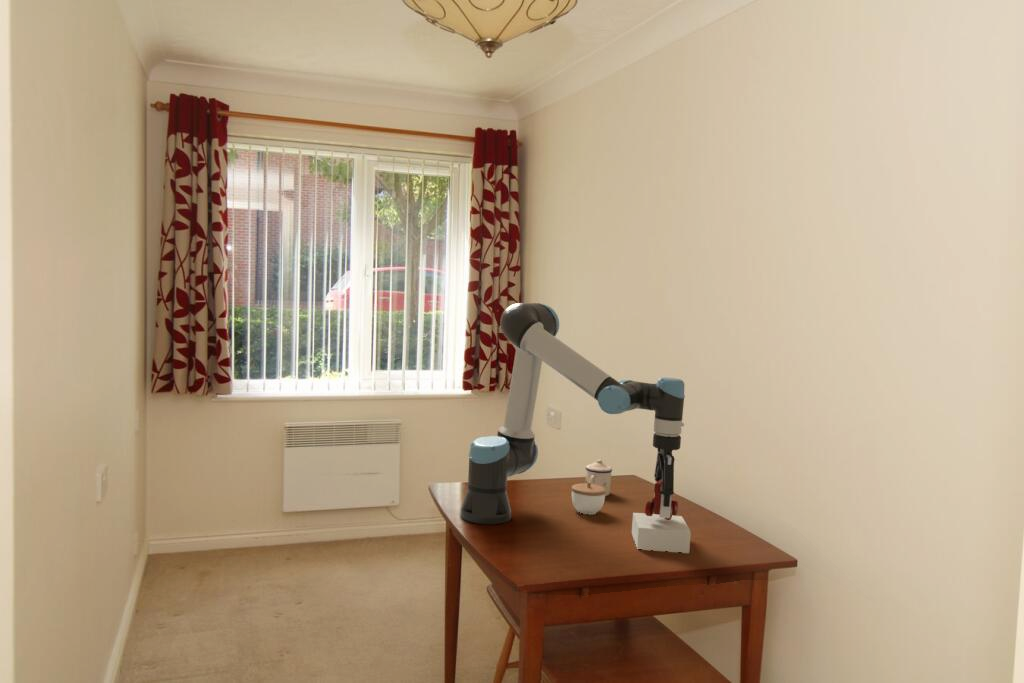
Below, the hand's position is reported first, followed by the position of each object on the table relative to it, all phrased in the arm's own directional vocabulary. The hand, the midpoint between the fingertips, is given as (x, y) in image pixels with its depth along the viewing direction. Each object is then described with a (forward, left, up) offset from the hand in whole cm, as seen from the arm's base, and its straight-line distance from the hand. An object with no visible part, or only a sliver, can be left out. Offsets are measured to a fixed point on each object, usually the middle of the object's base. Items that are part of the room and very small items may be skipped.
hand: (661, 511), depth 209 cm
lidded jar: (-19, +25, -9) cm, 33 cm away
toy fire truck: (0, 0, -1) cm, 1 cm away
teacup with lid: (-15, +47, -9) cm, 50 cm away
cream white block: (0, 0, -9) cm, 9 cm away
